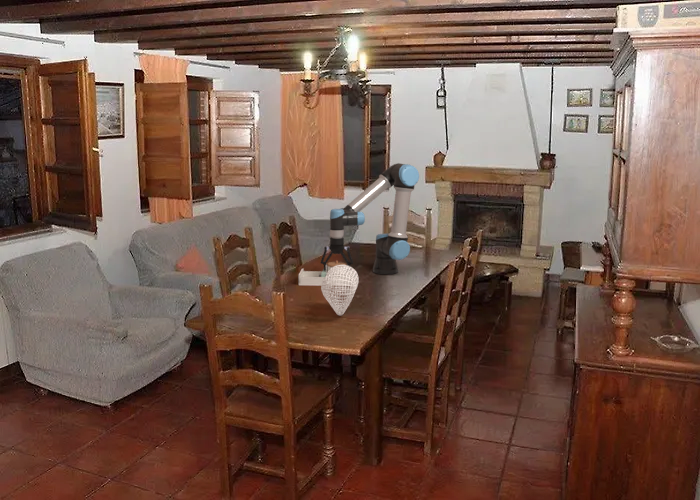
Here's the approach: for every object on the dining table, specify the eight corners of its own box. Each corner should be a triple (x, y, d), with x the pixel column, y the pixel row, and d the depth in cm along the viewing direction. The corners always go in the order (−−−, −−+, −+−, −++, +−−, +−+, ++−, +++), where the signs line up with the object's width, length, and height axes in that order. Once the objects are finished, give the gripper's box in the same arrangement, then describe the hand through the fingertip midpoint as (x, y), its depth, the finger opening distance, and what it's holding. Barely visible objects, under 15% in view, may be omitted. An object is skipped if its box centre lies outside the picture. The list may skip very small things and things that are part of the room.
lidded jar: (344, 279, 356) (344, 263, 354) (325, 278, 358) (325, 262, 356) (348, 275, 366) (348, 259, 364) (329, 274, 368) (329, 258, 367)
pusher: (326, 277, 369) (326, 268, 368) (325, 282, 357) (325, 273, 356) (319, 277, 369) (319, 268, 368) (317, 282, 357) (317, 273, 356)
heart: (328, 306, 316) (327, 261, 312) (359, 307, 315) (359, 262, 310) (319, 323, 289) (318, 275, 285) (353, 324, 287) (354, 276, 283)
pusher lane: (356, 279, 370) (356, 269, 369) (355, 286, 355) (355, 275, 354) (302, 278, 371) (302, 268, 370) (298, 285, 357) (298, 274, 355)
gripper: (358, 236, 361) (357, 274, 365) (316, 235, 362) (316, 274, 366) (357, 238, 354) (357, 278, 358) (315, 238, 355) (315, 277, 359)
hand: (336, 276), depth 362 cm, fingers closed on lidded jar, 11 cm apart
